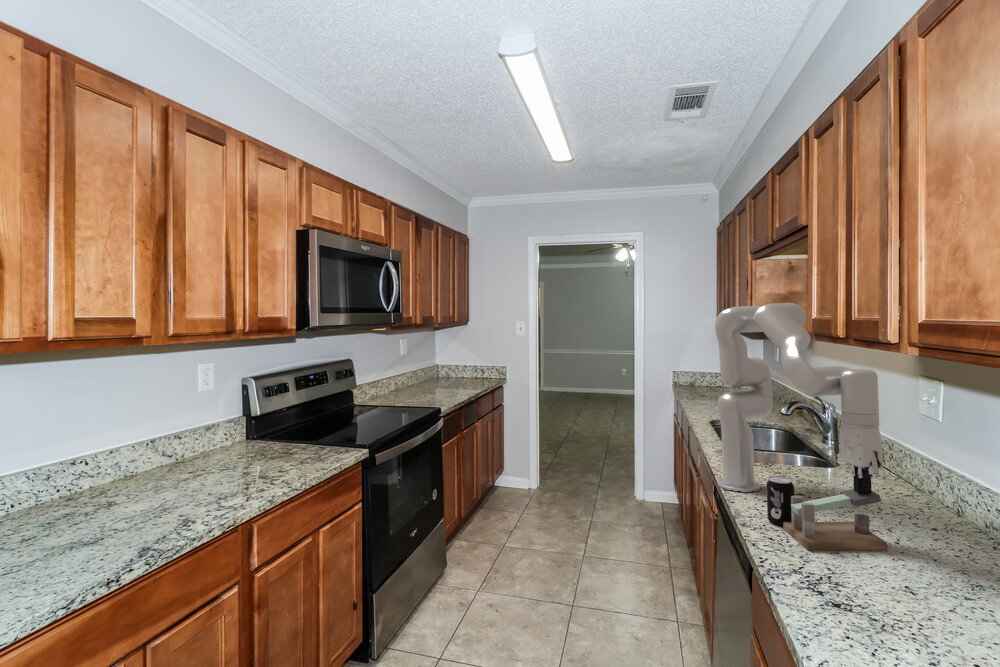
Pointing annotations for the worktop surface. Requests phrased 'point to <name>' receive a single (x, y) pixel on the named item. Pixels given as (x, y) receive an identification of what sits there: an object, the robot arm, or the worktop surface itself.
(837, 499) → the press lever
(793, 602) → the worktop surface
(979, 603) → the worktop surface
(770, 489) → the beverage can
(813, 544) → the press base
